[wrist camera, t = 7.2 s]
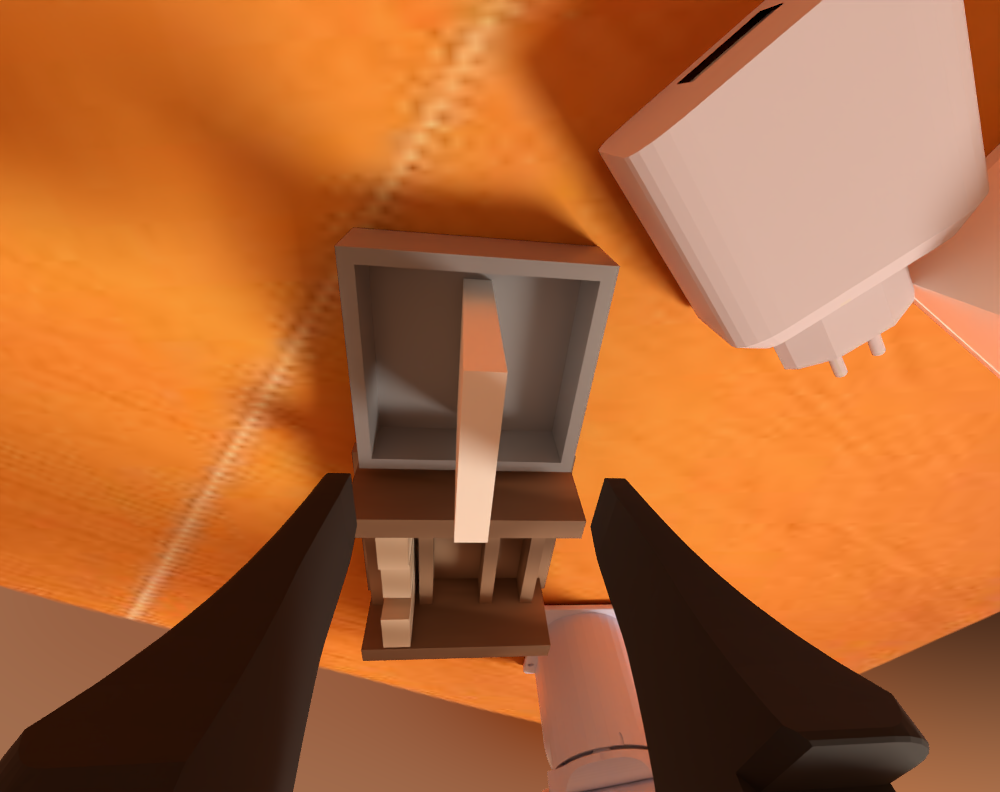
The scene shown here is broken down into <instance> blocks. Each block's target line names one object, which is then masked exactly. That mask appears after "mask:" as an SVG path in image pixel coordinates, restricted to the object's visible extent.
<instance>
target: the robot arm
mask: <svg viewBox="0 0 1000 792" xmlns="http://www.w3.org/2000/svg"><path fill="white" fill-rule="evenodd" d="M356 528H357V520H356V512H355V504H354V496H353V488H352V480H351V474H350V473H327V474H326V475H325V476H324V477H323V478H322V479H321V481H320V482H319V483H318V484H317V486H316V487H315V488H314V489H313V491H312V492H311V493H310V494H309V496H308V497H307V498H306V499H305V500H304V502H303V503H302V504H301V505H300V506H299V508H298V509H297V510H296V511H295V512H294V513H293V515H292V516H291V517H290V518H289V519H288V520H287V521H286V522H285V524H284V525H283V526H282V527H281V528H280V529H279V530H278V531H277V533H276V534H275V535H274V536H273V537H272V538H271V539H270V540H269V541H268V542H267V543H266V544H265V545H264V546H263V547H262V548H261V549H260V550H259V551H258V552H257V553H256V554H255V555H254V556H253V557H252V558H251V559H250V561H249V562H248V563H247V564H246V565H244V566H243V567H242V568H241V569H240V570H239V571H238V572H237V573H236V574H235V575H234V576H233V577H232V578H231V579H230V580H229V581H228V582H226V583H225V584H224V585H223V586H222V587H221V588H220V589H219V590H217V591H216V592H215V593H214V594H213V595H212V596H211V597H210V598H208V599H207V600H206V601H205V602H204V603H202V604H201V605H200V606H199V607H198V608H196V609H195V610H194V611H193V612H192V613H190V614H189V615H188V616H187V617H186V618H184V619H183V620H182V621H181V622H179V623H178V624H177V625H176V626H174V627H173V628H172V629H171V630H169V631H168V632H167V633H165V634H164V635H163V636H162V637H160V638H159V639H158V640H156V641H155V642H153V643H152V644H151V645H149V646H148V647H147V648H145V649H144V650H143V651H141V652H140V653H138V654H137V655H136V656H134V657H133V658H132V659H130V660H129V661H128V662H126V663H125V664H123V665H122V666H121V667H119V668H118V669H116V670H115V671H114V672H112V673H111V674H109V675H108V676H106V677H105V678H104V679H102V680H101V681H100V682H98V683H96V684H95V685H93V686H92V687H90V688H89V689H87V690H85V691H84V692H82V693H81V694H79V695H78V696H76V697H75V698H74V699H72V700H70V701H69V702H67V703H65V704H64V705H62V706H61V707H59V708H58V709H56V710H55V711H53V712H52V713H50V714H49V715H47V716H46V717H44V718H42V719H41V720H39V721H37V722H36V723H34V724H33V725H31V726H30V727H28V728H26V729H25V730H24V731H23V733H22V734H21V735H20V736H19V738H18V739H17V740H16V741H15V743H14V744H13V745H12V746H11V748H10V749H9V750H8V751H7V753H6V754H5V755H4V756H3V758H2V759H1V761H0V792H293V788H294V783H295V778H296V772H297V768H298V762H299V756H300V752H301V747H302V741H303V736H304V732H305V727H306V722H307V717H308V712H309V707H310V703H311V698H312V693H313V689H314V684H315V679H316V675H317V670H318V666H319V661H320V658H321V654H322V650H323V647H324V643H325V640H326V637H327V633H328V630H329V627H330V624H331V621H332V618H333V614H334V611H335V608H336V605H337V602H338V599H339V595H340V592H341V589H342V586H343V583H344V579H345V576H346V573H347V570H348V567H349V563H350V560H351V555H352V550H353V545H354V539H355V534H356ZM591 531H592V536H593V542H594V547H595V552H596V556H597V561H598V564H599V567H600V570H601V573H602V576H603V579H604V582H605V586H606V589H607V592H608V595H609V598H610V601H611V604H609V605H544V608H545V614H546V620H547V626H548V632H549V638H550V644H551V646H550V649H549V653H548V656H525V660H524V665H523V671H524V672H525V673H528V674H530V673H535V676H536V684H537V691H538V699H539V707H540V715H541V722H542V729H543V738H544V746H545V751H546V756H547V759H548V761H549V764H550V766H551V768H552V770H551V771H548V772H547V775H548V783H549V788H548V789H544V790H542V791H541V792H895V790H894V788H893V787H892V785H891V784H890V783H891V782H893V781H894V780H896V779H897V778H899V777H900V776H902V775H903V774H905V773H906V772H908V771H910V770H911V769H913V768H914V767H916V766H917V765H918V764H920V763H921V762H922V761H924V760H925V758H926V756H927V755H928V754H929V744H928V742H927V740H926V739H925V738H924V736H923V735H922V734H921V732H920V731H919V730H918V728H917V727H916V726H915V725H914V723H913V722H912V720H911V719H910V718H909V716H908V715H907V714H906V712H905V711H904V710H903V708H902V707H901V706H900V704H899V703H898V702H897V700H896V699H895V698H894V696H893V695H892V694H891V693H889V692H888V691H886V690H884V689H882V688H881V687H879V686H877V685H875V684H874V683H872V682H871V681H869V680H867V679H866V678H864V677H862V676H861V675H859V674H857V673H855V672H854V671H852V670H850V669H849V668H847V667H845V666H844V665H842V664H840V663H839V662H837V661H835V660H834V659H832V658H831V657H829V656H828V655H826V654H825V653H823V652H822V651H820V650H819V649H817V648H815V647H814V646H812V645H811V644H809V643H808V642H806V641H805V640H803V639H802V638H800V637H799V636H797V635H796V634H795V633H793V632H792V631H790V630H789V629H787V628H786V627H785V626H783V625H782V624H780V623H779V622H778V621H776V620H775V619H774V618H772V617H771V616H770V615H768V614H767V613H766V612H764V611H763V610H761V609H760V608H759V607H757V606H756V605H755V604H754V603H752V602H751V601H750V600H749V599H747V598H746V597H745V596H743V595H742V594H741V593H740V592H739V591H737V590H736V589H735V588H734V587H733V586H731V585H730V584H729V583H728V582H727V581H726V580H724V579H723V578H722V577H721V576H720V575H718V574H717V573H716V572H715V571H714V570H713V569H712V568H711V567H709V566H708V565H707V564H706V563H705V562H704V561H703V560H702V559H701V558H700V557H699V556H698V555H697V554H696V553H695V552H694V551H693V550H691V549H690V548H689V547H688V546H687V545H686V544H685V543H684V542H683V541H682V540H681V539H680V538H679V537H678V536H677V535H676V534H675V532H674V531H673V530H672V529H671V528H670V527H669V526H668V525H667V524H666V523H665V522H664V521H663V520H662V519H661V518H660V517H659V516H658V514H657V513H656V512H655V511H654V510H653V509H652V508H651V507H650V506H649V505H648V503H647V502H646V501H645V500H644V499H643V498H642V497H641V496H640V495H639V493H638V492H637V491H636V490H635V489H634V488H633V487H632V486H631V485H630V483H629V482H628V481H627V480H626V479H621V478H605V479H604V483H603V486H602V489H601V493H600V496H599V500H598V503H597V506H596V510H595V513H594V517H593V520H592V523H591Z"/></svg>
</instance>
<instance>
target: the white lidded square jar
mask: <svg viewBox="0 0 1000 792" xmlns="http://www.w3.org/2000/svg"><path fill="white" fill-rule="evenodd" d="M985 159H986V167H987V174H988V181H989V193H988V194H987V196H986V197H985V198H984V200H983V201H982V202H981V203H980V205H979V206H978V207H977V208H976V210H975V211H974V212H973V213H972V215H971V216H970V217H969V218H968V220H967V221H966V222H965V223H964V224H963V226H962V227H961V228H960V229H959V231H958V232H957V233H956V234H955V235H954V236H953V237H952V238H950V239H949V240H947V241H946V242H945V243H943V244H942V245H940V246H938V247H937V248H935V249H934V250H932V251H930V252H929V253H927V254H925V255H924V256H922V257H921V258H919V259H917V260H916V261H914V262H913V263H911V264H909V265H908V268H909V272H910V276H911V280H912V283H913V287H914V291H915V300H914V301H913V303H914V304H915V305H916V306H918V307H919V308H920V309H921V310H922V311H923V312H924V313H926V314H927V315H928V316H929V317H930V318H931V319H932V320H933V321H935V322H936V323H937V324H938V325H939V326H940V327H941V328H943V329H944V330H945V331H946V332H947V333H948V334H949V335H951V336H952V337H953V338H954V339H955V340H956V341H957V342H958V343H960V344H961V345H962V346H963V347H964V348H965V349H966V350H968V351H969V352H970V353H971V354H972V355H973V356H974V357H975V358H977V359H978V360H979V361H980V362H981V363H982V364H983V365H985V366H986V367H987V368H988V369H989V370H990V371H991V372H992V373H994V374H995V375H996V376H997V377H998V378H999V379H1000V144H999V145H998V146H997V147H996V148H995V149H994V150H993V151H992V152H991V153H990V154H989V155H988V156H987V157H986V158H985Z"/></svg>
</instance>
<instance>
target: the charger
mask: <svg viewBox="0 0 1000 792" xmlns="http://www.w3.org/2000/svg"><path fill="white" fill-rule="evenodd" d="M781 3H783V4H782V5H781V6H780V7H779V8H777V9H775V10H772V11H771V12H770V13H768V14H767V15H766V16H765V17H764V18H763V19H762V20H760V21H759V22H758V23H757V24H756V25H755V26H753V27H752V28H751V29H750V30H749V31H748V32H747V33H745V34H744V35H743V36H742V37H741V38H740V39H738V40H737V41H736V42H735V43H734V44H733V45H732V46H730V47H729V48H728V49H727V50H726V51H725V52H723V53H722V54H721V55H720V56H719V57H718V58H717V59H715V60H714V61H713V62H712V63H711V64H710V65H708V66H707V67H706V68H705V69H704V70H703V71H702V72H700V73H699V74H698V75H697V76H696V77H695V78H694V79H692V80H691V81H690V82H688V83H682V84H677V83H678V82H679V81H681V80H682V79H683V78H684V77H685V76H686V75H687V74H689V73H690V72H691V71H692V70H693V69H694V68H695V67H697V66H698V65H699V64H700V63H701V62H702V61H703V60H705V59H706V58H707V57H708V56H709V55H710V54H711V53H713V52H714V51H715V50H716V49H717V48H718V47H719V46H721V45H722V44H723V43H724V42H725V41H726V40H727V39H729V38H730V37H731V36H732V35H733V34H734V33H735V32H737V31H738V30H739V29H740V28H741V27H742V26H743V25H745V24H746V23H747V22H748V21H749V20H750V19H751V18H753V17H754V16H755V15H756V14H757V13H758V12H759V11H761V10H764V9H767V8H770V7H772V6H775V5H778V4H781ZM599 153H600V155H601V157H602V158H603V160H604V162H605V163H606V165H607V167H608V168H609V170H610V172H611V173H612V175H613V177H614V178H615V180H616V181H617V183H618V185H619V186H620V188H621V190H622V191H623V193H624V195H625V196H626V198H627V200H628V201H629V203H630V205H631V206H632V208H633V210H634V211H635V213H636V215H637V216H638V218H639V220H640V221H641V223H642V225H643V226H644V228H645V230H646V231H647V233H648V235H649V236H650V238H651V240H652V241H653V243H654V245H655V246H656V248H657V250H658V251H659V253H660V255H661V256H662V258H663V260H664V261H665V263H666V265H667V266H668V268H669V270H670V271H671V273H672V275H673V276H674V278H675V280H676V281H677V283H678V285H679V286H680V288H681V290H682V291H683V293H684V295H685V296H686V298H687V300H688V301H689V303H690V305H691V306H692V308H693V310H694V311H695V313H696V315H697V316H698V318H700V319H701V320H702V321H703V322H704V323H705V324H707V325H708V326H709V327H710V328H711V329H712V330H714V331H715V332H716V333H717V334H718V335H719V336H721V337H722V338H723V339H724V340H725V341H726V342H728V343H729V344H730V345H731V346H733V347H736V348H771V347H774V349H775V351H776V353H777V355H778V357H779V359H780V361H781V363H782V364H783V366H784V368H785V369H800V368H804V367H808V366H812V365H816V364H820V363H823V362H827V361H829V363H830V365H831V368H832V370H833V372H834V375H835V376H836V377H843V376H845V375H846V374H847V372H848V371H847V368H846V366H845V363H844V361H843V359H842V356H843V355H845V354H847V353H848V352H850V351H852V350H853V349H855V348H857V347H859V346H860V345H862V344H864V343H865V342H868V345H869V347H870V350H871V353H872V355H874V356H879V355H882V354H883V353H884V352H885V351H886V349H885V346H884V343H883V340H882V337H881V333H882V332H884V331H886V330H888V329H889V328H891V327H893V326H894V325H895V324H896V323H897V322H898V320H899V319H900V318H901V317H902V315H903V314H904V313H905V311H906V310H907V309H908V307H909V306H910V305H911V304H912V302H913V301H914V300H915V291H914V287H913V283H912V280H911V276H910V272H909V268H908V265H909V264H911V263H913V262H914V261H916V260H917V259H919V258H921V257H922V256H924V255H925V254H927V253H929V252H930V251H932V250H934V249H935V248H937V247H938V246H940V245H942V244H943V243H945V242H946V241H947V240H949V239H950V238H952V237H953V236H954V235H955V234H956V233H957V232H958V231H959V229H960V228H961V227H962V226H963V224H964V223H965V222H966V221H967V220H968V218H969V217H970V216H971V215H972V213H973V212H974V211H975V210H976V208H977V207H978V206H979V205H980V203H981V202H982V201H983V200H984V198H985V197H986V196H987V194H988V193H989V181H988V174H987V167H986V159H985V152H984V145H983V138H982V131H981V123H980V116H979V109H978V102H977V95H976V87H975V80H974V73H973V66H972V58H971V51H970V44H969V37H968V30H967V22H966V15H965V8H964V1H963V0H764V1H763V2H762V3H761V4H760V5H759V6H758V7H756V8H755V9H754V10H753V11H752V12H751V13H750V14H749V15H747V16H746V17H745V18H744V19H743V20H742V21H741V22H739V23H738V24H737V25H736V26H735V27H734V28H733V29H731V30H730V31H729V32H728V33H727V34H726V35H725V36H724V37H722V38H721V39H720V40H719V41H718V42H717V43H716V44H714V45H713V46H712V47H711V48H710V49H709V50H708V51H706V52H705V53H704V54H703V55H702V56H701V57H700V58H699V59H697V60H696V61H695V62H694V63H693V64H692V65H691V66H689V67H688V68H687V69H686V70H685V71H684V72H683V73H681V74H680V75H679V76H678V77H677V78H676V79H675V80H674V81H672V82H671V83H670V84H669V85H668V86H667V87H666V88H664V89H663V90H662V91H661V92H660V93H659V94H658V95H656V96H655V97H654V98H653V99H652V100H651V101H650V102H649V103H647V104H646V105H645V106H644V107H643V108H642V109H641V110H639V111H638V112H637V113H636V114H635V115H634V116H633V117H632V118H630V119H629V120H628V121H627V122H626V123H625V124H624V125H623V126H621V127H620V128H619V129H618V130H617V131H616V132H615V133H614V134H613V135H611V136H610V137H609V138H608V139H607V140H606V141H605V142H604V143H603V144H602V146H601V147H600V148H599Z"/></svg>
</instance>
